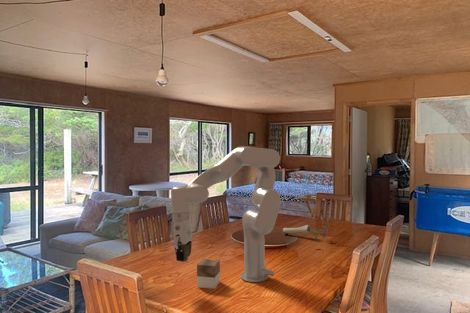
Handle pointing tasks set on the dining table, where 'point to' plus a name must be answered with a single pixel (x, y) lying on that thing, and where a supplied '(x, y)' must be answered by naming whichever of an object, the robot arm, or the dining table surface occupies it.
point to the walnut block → (208, 268)
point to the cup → (186, 250)
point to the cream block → (208, 281)
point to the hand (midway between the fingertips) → (183, 257)
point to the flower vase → (306, 230)
